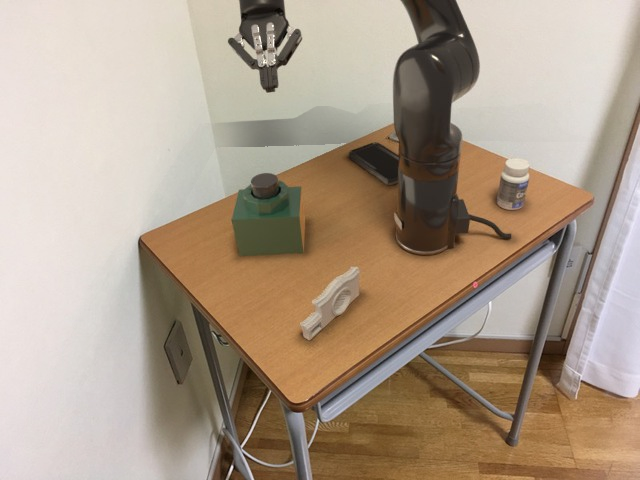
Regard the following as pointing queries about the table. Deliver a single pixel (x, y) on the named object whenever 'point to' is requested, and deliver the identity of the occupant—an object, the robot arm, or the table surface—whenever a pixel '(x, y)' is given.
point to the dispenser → (269, 222)
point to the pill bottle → (513, 184)
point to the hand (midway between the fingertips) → (270, 90)
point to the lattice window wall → (332, 302)
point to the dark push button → (265, 186)
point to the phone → (377, 162)
